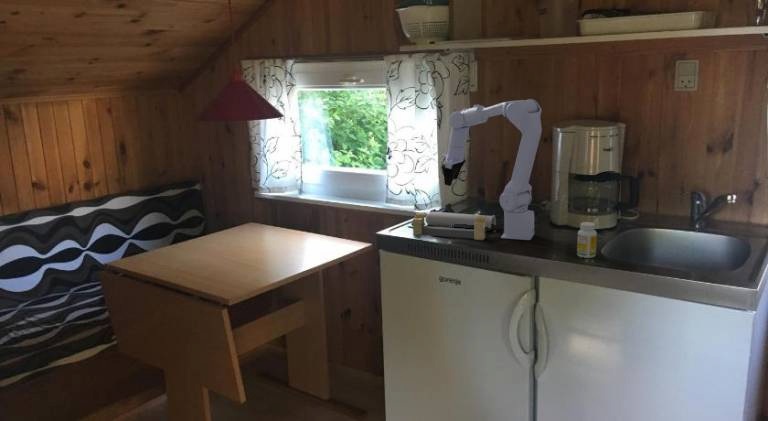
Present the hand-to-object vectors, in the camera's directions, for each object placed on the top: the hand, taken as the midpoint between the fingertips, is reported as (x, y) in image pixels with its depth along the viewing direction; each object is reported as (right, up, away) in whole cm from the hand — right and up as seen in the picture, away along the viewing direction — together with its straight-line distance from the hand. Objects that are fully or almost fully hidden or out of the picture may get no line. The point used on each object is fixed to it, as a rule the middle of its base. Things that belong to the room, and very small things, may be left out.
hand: (450, 181), depth 225 cm
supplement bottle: (+36, -23, -38) cm, 57 cm away
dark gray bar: (-2, -19, -13) cm, 23 cm away
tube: (+3, -16, -2) cm, 17 cm away
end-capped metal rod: (-2, -19, -13) cm, 23 cm away
